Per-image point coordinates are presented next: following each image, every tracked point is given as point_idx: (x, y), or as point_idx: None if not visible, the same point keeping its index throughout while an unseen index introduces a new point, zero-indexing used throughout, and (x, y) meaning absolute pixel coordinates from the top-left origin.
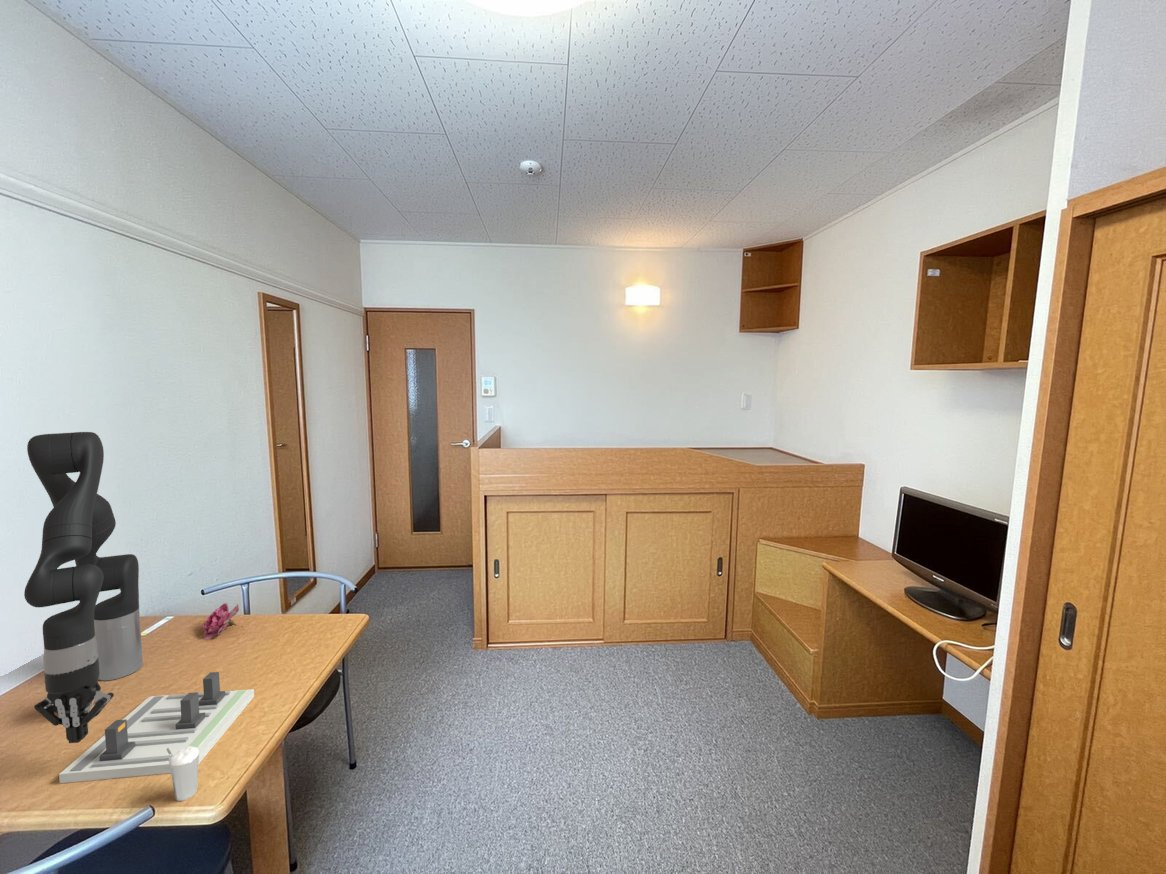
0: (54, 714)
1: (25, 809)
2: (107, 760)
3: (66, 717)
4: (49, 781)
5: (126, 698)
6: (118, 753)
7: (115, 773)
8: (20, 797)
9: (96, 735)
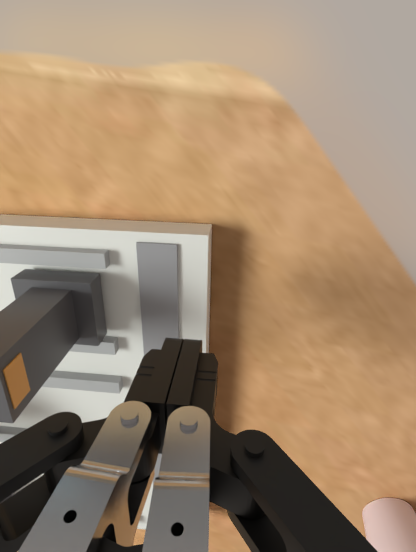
0: (276, 527)
1: (234, 103)
2: (72, 272)
3: (169, 477)
4: (257, 241)
5: None
6: (26, 285)
7: (24, 221)
8: (302, 175)
9: (264, 420)
